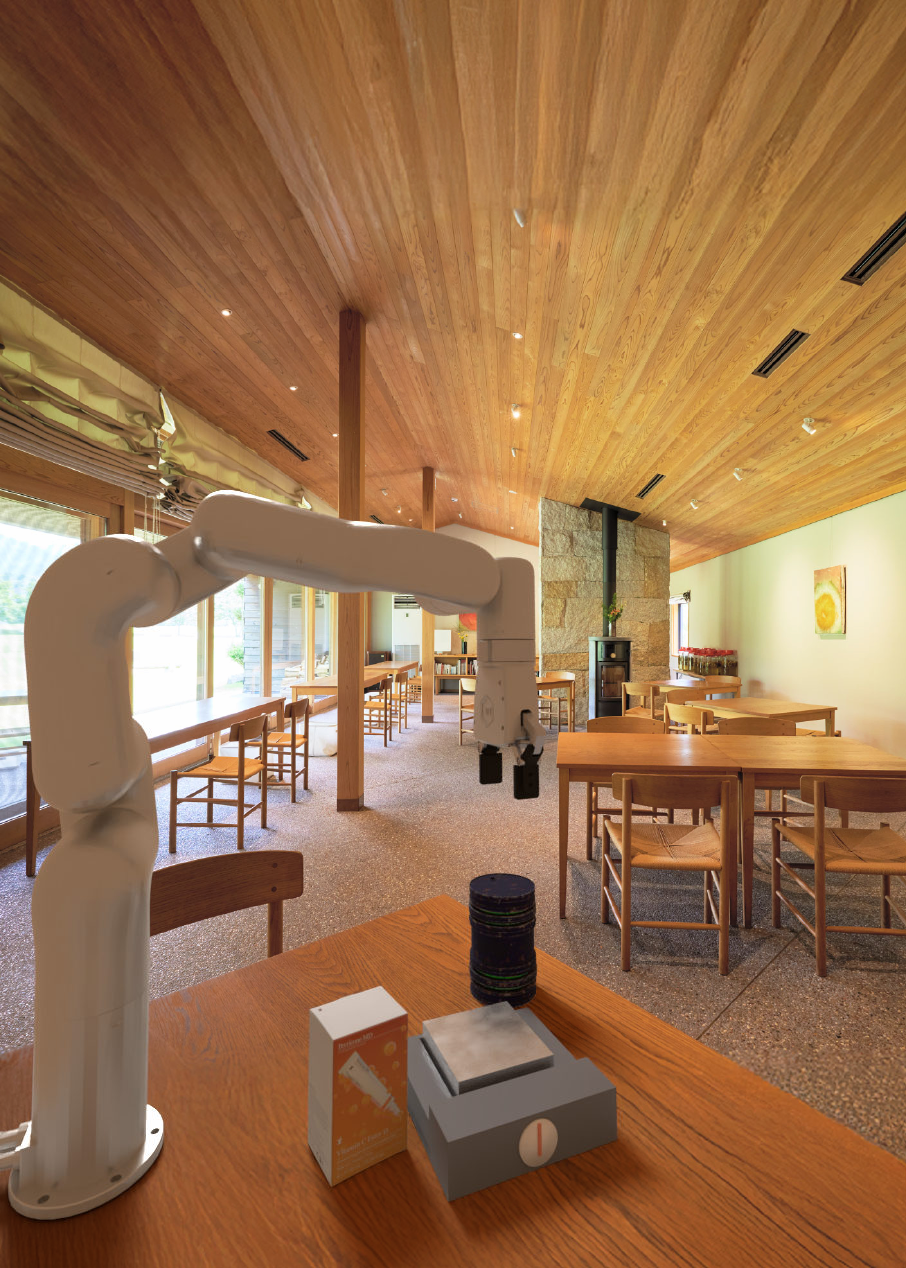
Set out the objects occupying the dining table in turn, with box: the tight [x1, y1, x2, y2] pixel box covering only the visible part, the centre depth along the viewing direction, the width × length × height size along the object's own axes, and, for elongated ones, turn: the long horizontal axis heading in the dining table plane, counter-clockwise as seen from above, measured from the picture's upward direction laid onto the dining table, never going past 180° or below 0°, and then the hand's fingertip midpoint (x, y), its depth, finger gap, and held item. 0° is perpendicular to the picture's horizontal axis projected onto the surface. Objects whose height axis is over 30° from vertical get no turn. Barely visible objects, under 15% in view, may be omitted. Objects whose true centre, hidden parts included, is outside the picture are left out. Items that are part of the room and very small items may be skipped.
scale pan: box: [422, 1001, 554, 1097], centre depth 66 cm, size 11×11×3 cm
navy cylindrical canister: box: [468, 872, 538, 1009], centre depth 87 cm, size 10×10×15 cm
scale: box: [407, 1007, 618, 1203], centre depth 64 cm, size 18×18×5 cm
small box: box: [307, 985, 409, 1188], centre depth 59 cm, size 8×6×13 cm
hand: (507, 790), depth 75 cm, fingers open, 9 cm apart
